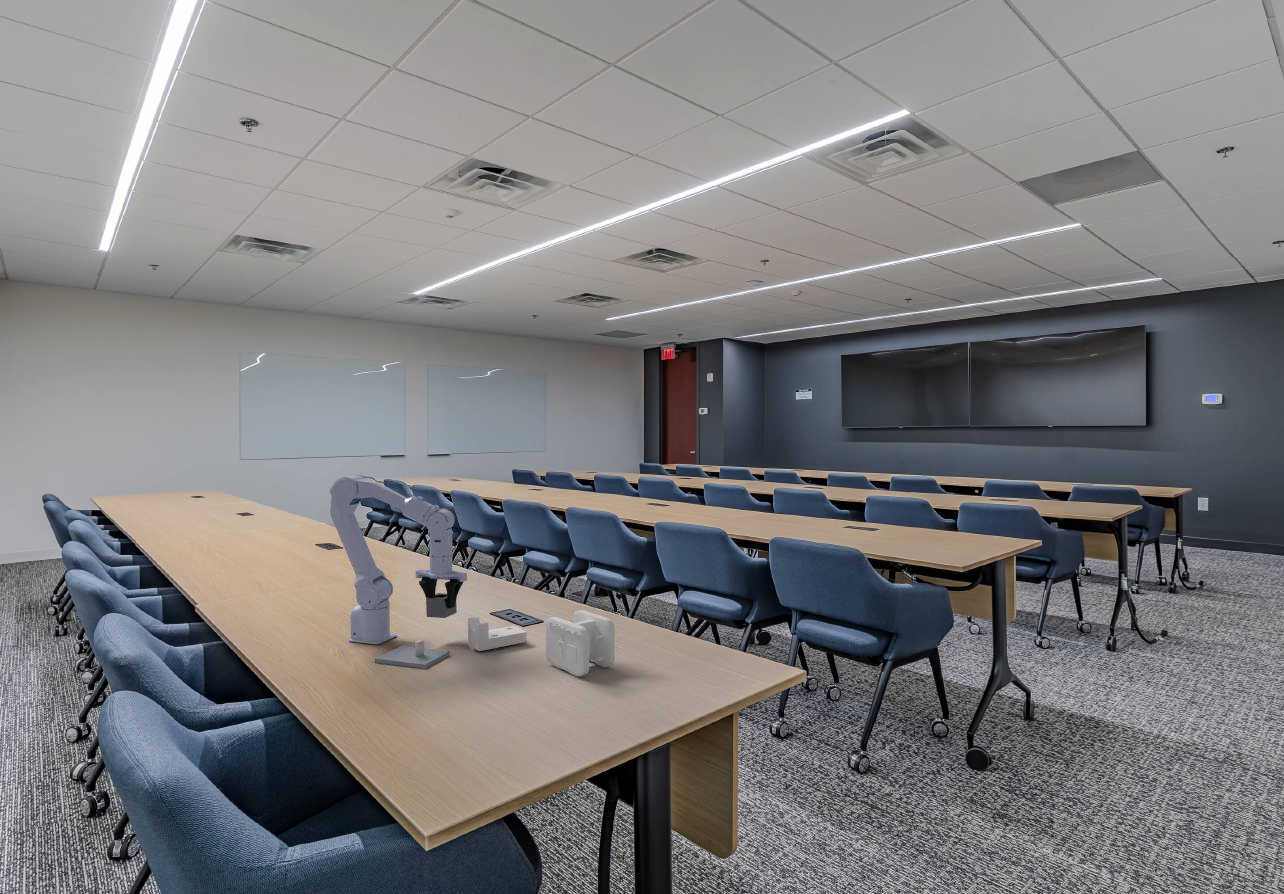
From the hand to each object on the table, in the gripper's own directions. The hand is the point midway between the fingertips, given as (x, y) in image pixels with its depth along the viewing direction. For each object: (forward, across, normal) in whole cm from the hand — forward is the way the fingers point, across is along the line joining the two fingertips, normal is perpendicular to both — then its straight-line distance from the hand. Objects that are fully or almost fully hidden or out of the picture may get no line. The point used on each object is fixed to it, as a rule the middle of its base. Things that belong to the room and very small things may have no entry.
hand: (441, 606), depth 179 cm
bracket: (+9, +16, 0) cm, 19 cm away
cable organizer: (+9, +43, -8) cm, 45 cm away
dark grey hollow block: (+2, 0, 0) cm, 2 cm away
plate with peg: (+9, +2, -15) cm, 18 cm away
